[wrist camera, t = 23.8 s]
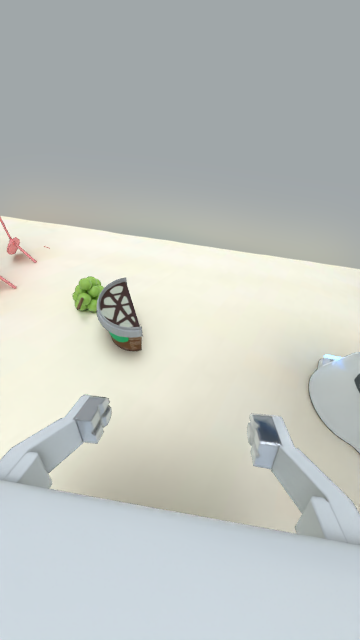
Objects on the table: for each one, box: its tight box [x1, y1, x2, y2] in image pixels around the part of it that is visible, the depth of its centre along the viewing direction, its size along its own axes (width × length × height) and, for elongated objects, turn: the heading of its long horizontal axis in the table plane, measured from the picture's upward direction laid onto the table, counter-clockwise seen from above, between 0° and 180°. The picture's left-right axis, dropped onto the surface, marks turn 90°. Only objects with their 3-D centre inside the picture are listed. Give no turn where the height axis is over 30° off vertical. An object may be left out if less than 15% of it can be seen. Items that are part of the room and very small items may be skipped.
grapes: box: [73, 276, 104, 311], centre depth 39 cm, size 7×11×6 cm, turn 1°
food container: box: [97, 278, 143, 351], centre depth 34 cm, size 12×6×10 cm, turn 21°
